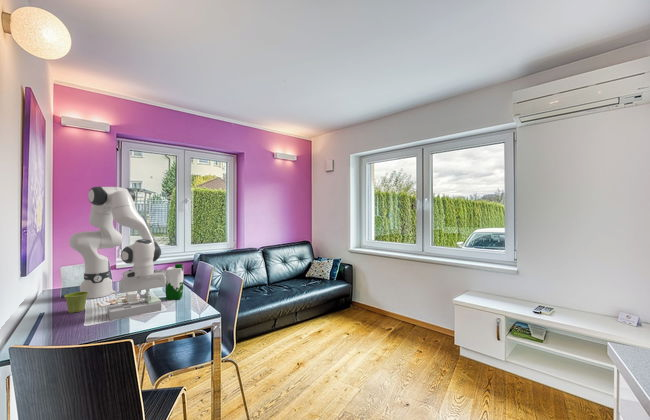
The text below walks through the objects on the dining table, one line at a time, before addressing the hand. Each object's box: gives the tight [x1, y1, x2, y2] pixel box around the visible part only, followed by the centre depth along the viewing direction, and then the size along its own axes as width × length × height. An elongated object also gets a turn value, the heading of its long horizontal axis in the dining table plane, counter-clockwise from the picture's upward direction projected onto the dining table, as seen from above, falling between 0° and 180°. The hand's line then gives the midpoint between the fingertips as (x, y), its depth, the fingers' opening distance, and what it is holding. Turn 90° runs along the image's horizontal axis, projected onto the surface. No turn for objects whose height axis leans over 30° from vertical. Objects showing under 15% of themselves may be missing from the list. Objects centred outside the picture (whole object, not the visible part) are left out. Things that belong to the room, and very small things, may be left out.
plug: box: [125, 291, 138, 302], centre depth 153 cm, size 9×4×7 cm, turn 43°
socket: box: [106, 299, 162, 322], centre depth 143 cm, size 12×21×4 cm, turn 133°
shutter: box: [144, 293, 162, 304], centre depth 148 cm, size 10×6×4 cm, turn 43°
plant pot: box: [63, 291, 89, 314], centre depth 144 cm, size 9×9×9 cm
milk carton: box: [164, 263, 184, 301], centre depth 166 cm, size 9×9×20 cm
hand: (143, 298), depth 145 cm, fingers closed
